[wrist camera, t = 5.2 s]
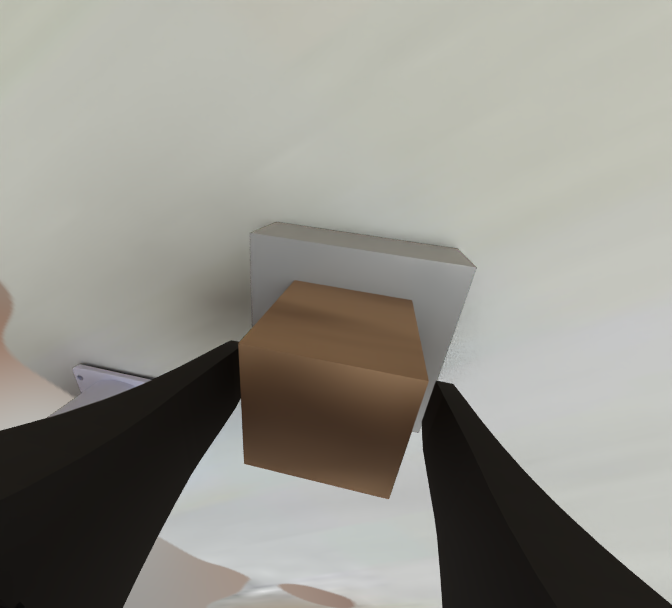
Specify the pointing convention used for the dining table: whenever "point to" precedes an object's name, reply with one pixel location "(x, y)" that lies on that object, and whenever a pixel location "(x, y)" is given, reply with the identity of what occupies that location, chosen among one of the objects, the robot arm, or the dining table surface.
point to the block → (332, 386)
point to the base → (367, 278)
